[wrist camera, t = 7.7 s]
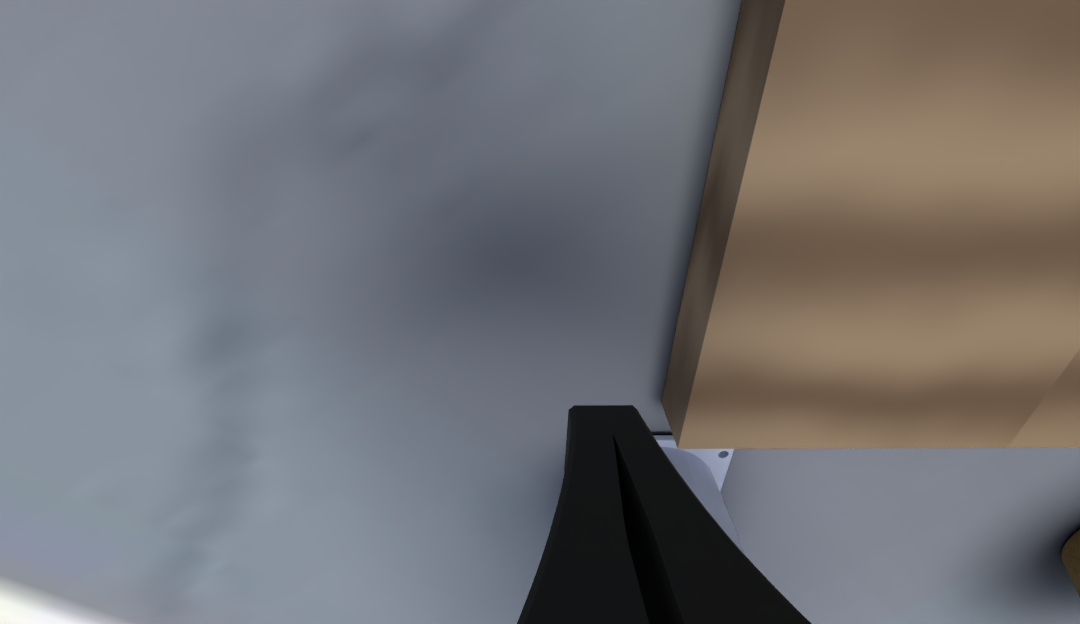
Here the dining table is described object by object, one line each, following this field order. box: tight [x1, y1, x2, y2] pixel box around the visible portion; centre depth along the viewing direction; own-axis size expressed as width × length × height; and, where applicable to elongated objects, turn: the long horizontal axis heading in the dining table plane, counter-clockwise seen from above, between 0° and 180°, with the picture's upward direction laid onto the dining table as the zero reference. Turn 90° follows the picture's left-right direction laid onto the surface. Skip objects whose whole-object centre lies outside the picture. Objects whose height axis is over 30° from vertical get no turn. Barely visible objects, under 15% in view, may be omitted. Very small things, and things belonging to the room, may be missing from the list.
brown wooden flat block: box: [661, 0, 1080, 449], centre depth 18 cm, size 18×22×3 cm
